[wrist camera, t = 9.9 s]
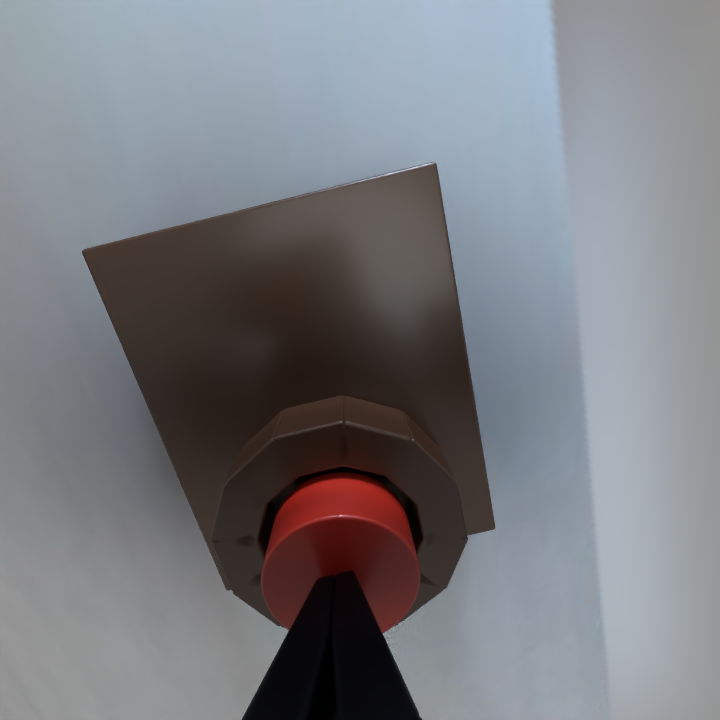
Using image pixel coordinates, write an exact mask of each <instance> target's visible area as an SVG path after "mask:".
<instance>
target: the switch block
mask: <svg viewBox="0 0 720 720" xmlns="http://www.w3.org/2000/svg"><path fill="white" fill-rule="evenodd" d="M82 254H83V256H84V258H85V261H86V263H87V265H88V268H89V270H90V273H91V275H92V277H93V280H94V282H95V284H96V287H97V289H98V291H99V294H100V296H101V298H102V301H103V303H104V305H105V308H106V310H107V312H108V315H109V317H110V319H111V322H112V324H113V326H114V329H115V331H116V333H117V336H118V338H119V340H120V343H121V345H122V347H123V350H124V352H125V354H126V357H127V359H128V361H129V364H130V366H131V368H132V371H133V373H134V375H135V378H136V380H137V382H138V385H139V387H140V389H141V392H142V394H143V396H144V399H145V401H146V403H147V406H148V408H149V410H150V413H151V415H152V417H153V420H154V422H155V424H156V427H157V429H158V431H159V434H160V436H161V438H162V441H163V443H164V445H165V448H166V450H167V452H168V455H169V457H170V459H171V462H172V464H173V466H174V469H175V471H176V473H177V476H178V478H179V480H180V483H181V485H182V487H183V490H184V492H185V494H186V497H187V499H188V501H189V504H190V506H191V508H192V511H193V513H194V515H195V518H196V520H197V522H198V525H199V527H200V529H201V532H202V534H203V536H204V539H205V541H206V543H207V546H208V548H209V550H210V553H211V555H212V557H213V560H214V562H215V564H216V567H217V569H218V571H219V574H220V576H221V578H222V581H223V583H224V585H225V588H226V590H232V591H233V594H234V595H236V596H237V597H239V598H240V599H241V600H243V601H244V602H245V603H247V604H248V605H250V606H251V607H252V608H254V609H255V610H257V611H258V612H259V613H261V614H262V615H263V616H265V617H266V618H268V619H269V620H270V621H272V622H273V623H275V624H276V625H277V626H281V627H284V626H283V625H282V624H280V623H279V622H278V621H277V620H276V619H275V617H274V616H273V615H272V613H271V612H270V611H269V609H268V607H267V605H266V603H265V601H264V597H263V594H262V589H261V572H262V567H263V563H264V559H265V555H266V551H267V547H268V543H269V539H270V535H271V531H272V528H273V524H274V520H275V516H276V514H277V511H278V509H279V507H280V505H281V503H282V502H283V501H284V499H285V498H286V497H287V496H288V495H289V494H290V493H291V492H292V491H293V490H294V489H295V488H296V487H298V486H299V485H300V484H302V483H304V482H305V481H307V480H309V479H312V478H314V477H316V476H320V475H323V474H328V473H334V472H351V473H357V474H362V475H365V476H368V477H371V478H373V479H375V480H377V481H379V482H381V483H382V484H384V485H385V486H387V487H388V488H389V489H390V490H391V491H392V492H393V493H394V494H395V495H396V496H397V497H398V498H399V500H400V501H401V503H402V505H403V507H404V509H405V511H406V515H407V518H408V522H409V526H410V530H411V534H412V538H413V542H414V546H415V550H416V554H417V558H418V562H419V567H420V585H419V590H418V593H417V596H416V599H415V601H414V603H413V605H412V607H411V608H410V610H409V611H408V613H407V614H406V615H405V616H404V617H403V618H402V619H401V620H400V621H399V622H398V623H400V622H402V621H403V620H405V619H406V618H407V617H409V616H410V615H411V614H413V613H414V612H415V611H417V610H418V609H419V608H421V607H422V606H423V605H425V604H426V603H427V602H428V601H430V600H431V599H432V598H434V597H435V596H436V595H438V594H439V593H440V592H442V591H443V590H444V589H446V588H447V586H448V583H449V581H450V579H451V576H452V574H453V572H454V570H455V567H456V565H457V563H458V561H459V558H460V556H461V554H462V552H463V549H464V547H465V545H466V543H467V540H468V537H467V535H472V534H476V533H480V532H485V531H489V530H493V529H495V522H494V516H493V510H492V504H491V498H490V491H489V485H488V479H487V473H486V467H485V460H484V454H483V448H482V442H481V436H480V430H479V423H478V417H477V411H476V405H475V399H474V392H473V386H472V380H471V374H470V368H469V361H468V355H467V349H466V343H465V337H464V331H463V324H462V318H461V312H460V306H459V300H458V293H457V287H456V281H455V275H454V269H453V263H452V256H451V250H450V244H449V238H448V232H447V225H446V219H445V213H444V207H443V201H442V194H441V188H440V182H439V176H438V170H437V165H436V163H435V162H431V163H427V164H423V165H419V166H415V167H411V168H407V169H403V170H399V171H395V172H391V173H387V174H383V175H379V176H375V177H371V178H367V179H363V180H359V181H355V182H351V183H347V184H343V185H339V186H335V187H331V188H327V189H323V190H319V191H315V192H311V193H307V194H303V195H299V196H295V197H291V198H287V199H283V200H279V201H275V202H271V203H267V204H263V205H259V206H255V207H251V208H247V209H243V210H239V211H235V212H231V213H227V214H223V215H219V216H215V217H211V218H207V219H203V220H199V221H195V222H191V223H187V224H183V225H179V226H175V227H171V228H167V229H163V230H159V231H155V232H151V233H147V234H143V235H139V236H135V237H131V238H127V239H123V240H119V241H115V242H111V243H107V244H103V245H99V246H95V247H91V248H87V249H84V250H83V251H82ZM398 623H397V624H396V625H398ZM284 628H285V627H284Z"/></svg>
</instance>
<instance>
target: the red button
mask: <svg viewBox="0 0 720 720" xmlns="http://www.w3.org/2000/svg"><path fill="white" fill-rule="evenodd" d="M350 570H352V571H354V572H355V574H356V576H357V579H358V581H359V583H360V585H361V587H362V590H363V592H364V594H365V596H366V598H367V601H368V603H369V605H370V607H371V609H372V612H373V614H374V616H375V618H376V620H377V623H378V625H379V627H380V629H381V631H382V633H384V632H386V631H387V630H389V629H390V628H392V627H393V626H395V625H396V624H397V623H398V622H399V621H400V620H401V619H402V618H403V617H404V616H405V615H406V614H407V613H408V611H409V610H410V608H411V607H412V605H413V603H414V601H415V599H416V596H417V593H418V590H419V585H420V567H419V562H418V558H417V554H416V550H415V546H414V542H413V538H412V534H411V530H410V526H409V522H408V518H407V515H406V511H405V509H404V507H403V505H402V503H401V501H400V500H399V498H398V497H397V496H396V495H395V494H394V493H393V492H392V491H391V490H390V489H389V488H388V487H387V486H385V485H384V484H382V483H381V482H379V481H377V480H375V479H373V478H371V477H368V476H365V475H362V474H357V473H351V472H334V473H328V474H323V475H320V476H316V477H314V478H312V479H309V480H307V481H305V482H304V483H302V484H300V485H299V486H298V487H296V488H295V489H294V490H293V491H292V492H291V493H290V494H289V495H288V496H287V497H286V498H285V499H284V501H283V502H282V503H281V505H280V507H279V509H278V511H277V514H276V516H275V520H274V524H273V528H272V531H271V535H270V539H269V543H268V547H267V551H266V555H265V559H264V563H263V567H262V572H261V589H262V594H263V597H264V601H265V603H266V605H267V607H268V609H269V611H270V612H271V613H272V615H273V616H274V617H275V619H276V620H277V621H278V622H279V623H280V624H282V625H283V626H284V627H285V628H286V629H288V630H290V628H291V626H292V624H293V622H294V621H295V619H296V617H297V615H298V613H299V611H300V609H301V607H302V606H303V604H304V602H305V600H306V598H307V596H308V594H309V592H310V591H311V589H312V587H313V585H314V583H315V581H316V580H317V579H318V578H320V577H324V576H328V575H335V576H336V575H337V574H338V573H342V572H346V571H350Z"/></svg>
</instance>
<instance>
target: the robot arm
mask: <svg viewBox="0 0 720 720" xmlns="http://www.w3.org/2000/svg"><path fill="white" fill-rule="evenodd" d="M242 720H422V719H421V718H420V716H419V713H418V710H417V708H416V706H415V704H414V702H413V699H412V697H411V695H410V693H409V691H408V688H407V686H406V684H405V682H404V680H403V677H402V675H401V673H400V671H399V669H398V666H397V664H396V662H395V660H394V658H393V655H392V653H391V651H390V649H389V647H388V644H387V642H386V640H385V638H384V636H383V634H382V631H381V629H380V627H379V625H378V623H377V620H376V618H375V616H374V614H373V612H372V609H371V607H370V605H369V603H368V601H367V598H366V596H365V594H364V592H363V590H362V587H361V585H360V583H359V581H358V579H357V576H356V574H355V572H354V571H352V570H350V571H346V572H342V573H338V574H337V575H336V576H335V575H328V576H324V577H320V578H318V579H317V580H316V581H315V583H314V585H313V587H312V589H311V591H310V592H309V594H308V596H307V598H306V600H305V602H304V604H303V606H302V607H301V609H300V611H299V613H298V615H297V617H296V619H295V621H294V622H293V624H292V626H291V628H290V630H289V632H288V634H287V636H286V637H285V639H284V641H283V643H282V645H281V647H280V649H279V651H278V652H277V654H276V656H275V658H274V660H273V662H272V664H271V666H270V667H269V669H268V671H267V673H266V675H265V677H264V679H263V681H262V682H261V684H260V686H259V688H258V690H257V692H256V694H255V696H254V697H253V699H252V701H251V703H250V705H249V707H248V709H247V711H246V712H245V714H244V716H243V718H242Z"/></svg>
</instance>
